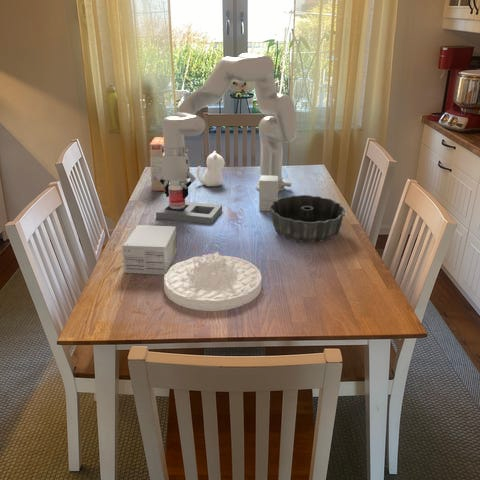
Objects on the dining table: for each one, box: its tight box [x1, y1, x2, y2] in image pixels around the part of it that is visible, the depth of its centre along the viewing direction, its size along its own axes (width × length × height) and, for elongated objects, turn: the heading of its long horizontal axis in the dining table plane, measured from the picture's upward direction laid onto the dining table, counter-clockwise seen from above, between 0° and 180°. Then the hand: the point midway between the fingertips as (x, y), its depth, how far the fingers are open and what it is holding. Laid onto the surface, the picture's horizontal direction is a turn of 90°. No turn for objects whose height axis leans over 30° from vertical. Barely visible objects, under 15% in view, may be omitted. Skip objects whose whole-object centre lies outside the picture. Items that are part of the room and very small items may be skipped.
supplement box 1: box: [121, 224, 178, 276], centre depth 164 cm, size 17×13×9 cm
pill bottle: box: [168, 181, 186, 210], centre depth 202 cm, size 6×6×11 cm
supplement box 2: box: [258, 175, 279, 212], centre depth 208 cm, size 7×7×13 cm
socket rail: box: [155, 200, 223, 225], centre depth 203 cm, size 22×14×2 cm, turn 76°
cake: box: [163, 251, 262, 312], centre depth 150 cm, size 28×28×10 cm
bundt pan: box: [270, 194, 346, 244], centre depth 185 cm, size 26×26×10 cm
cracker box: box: [149, 136, 165, 192], centre depth 231 cm, size 14×6×21 cm, turn 179°
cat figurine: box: [196, 150, 226, 187], centre depth 235 cm, size 9×12×15 cm
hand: (176, 196), depth 202 cm, fingers closed on pill bottle, 6 cm apart
